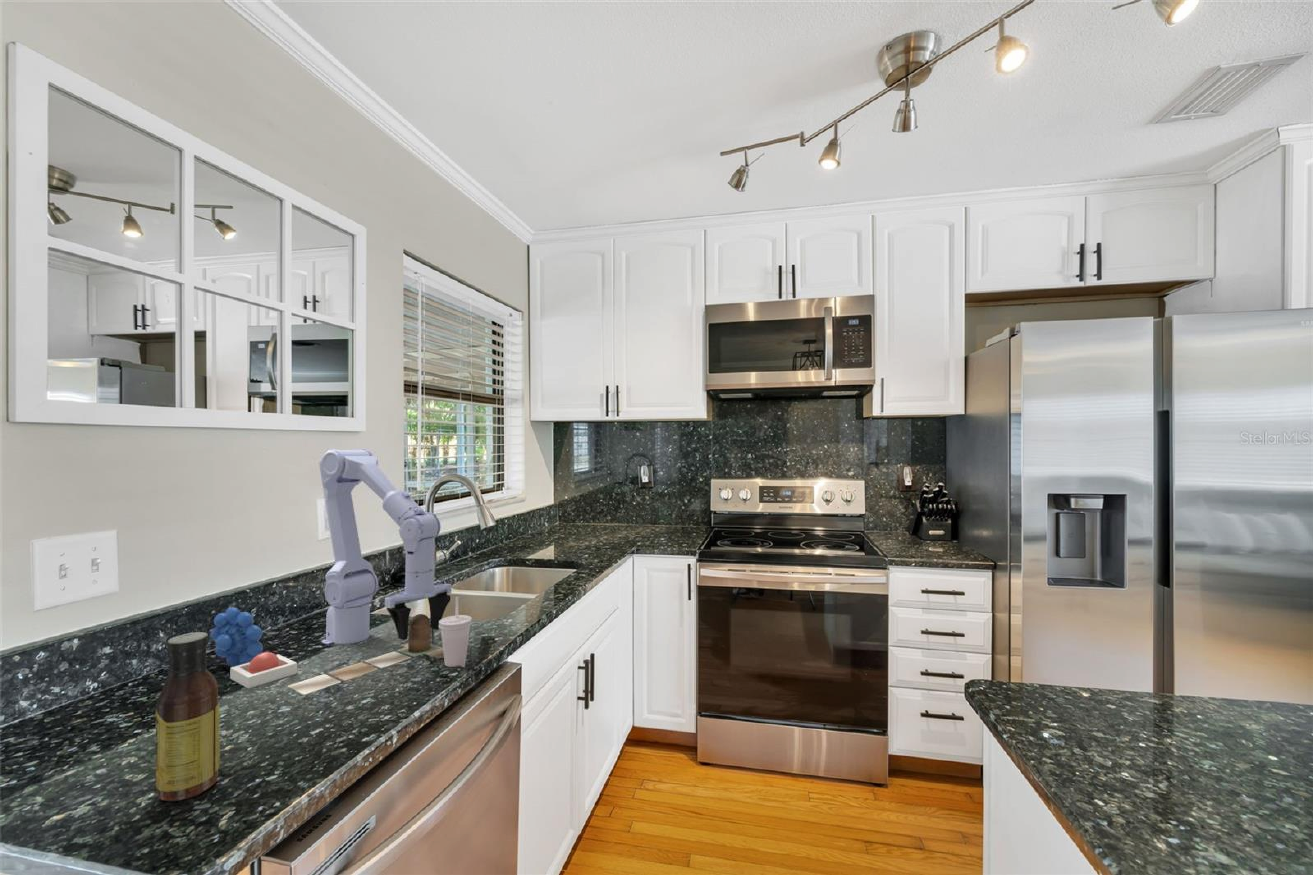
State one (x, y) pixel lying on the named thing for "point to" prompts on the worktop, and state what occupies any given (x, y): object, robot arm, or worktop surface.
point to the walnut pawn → (419, 634)
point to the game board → (361, 669)
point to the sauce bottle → (187, 722)
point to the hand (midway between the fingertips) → (419, 633)
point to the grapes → (236, 637)
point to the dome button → (263, 662)
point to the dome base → (263, 673)
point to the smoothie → (455, 638)
